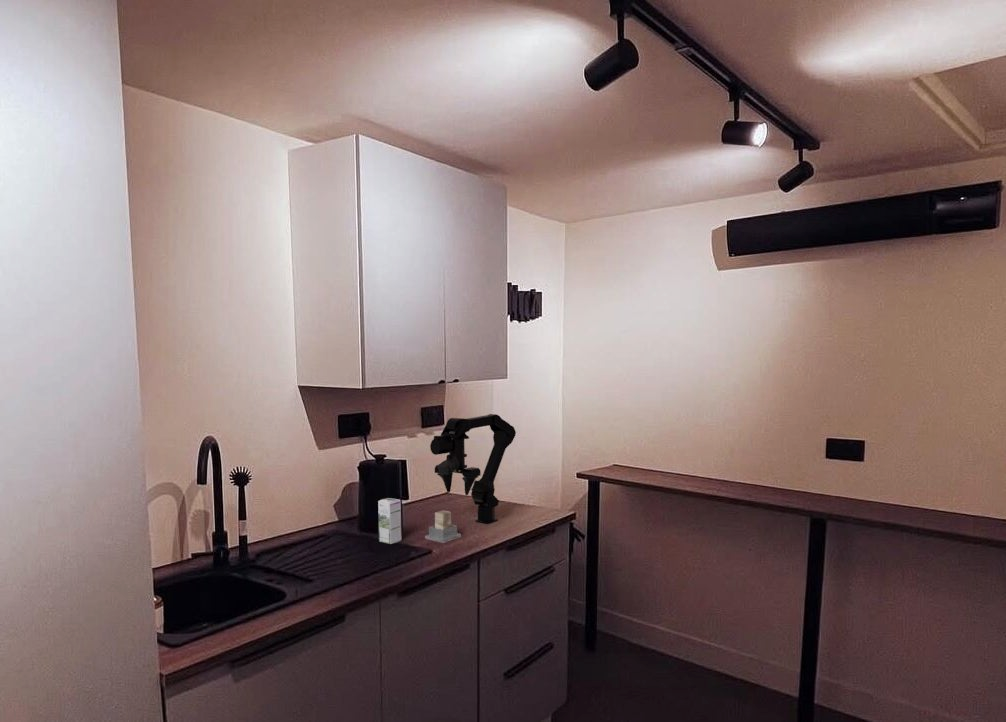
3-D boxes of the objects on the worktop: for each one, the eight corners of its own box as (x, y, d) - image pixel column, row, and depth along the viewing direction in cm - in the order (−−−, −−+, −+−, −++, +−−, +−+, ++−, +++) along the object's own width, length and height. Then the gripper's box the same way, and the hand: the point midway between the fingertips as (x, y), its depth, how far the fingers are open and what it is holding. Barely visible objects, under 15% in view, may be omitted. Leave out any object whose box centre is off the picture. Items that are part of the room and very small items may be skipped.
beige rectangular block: (443, 532, 218) (442, 510, 218) (451, 534, 215) (450, 511, 215) (435, 535, 215) (434, 512, 215) (443, 537, 212) (442, 514, 212)
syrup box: (402, 540, 212) (401, 499, 212) (389, 544, 208) (389, 502, 208) (390, 538, 216) (389, 497, 216) (378, 542, 211) (377, 500, 211)
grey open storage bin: (443, 532, 221) (442, 521, 221) (461, 536, 216) (460, 525, 216) (425, 538, 214) (424, 527, 214) (443, 542, 209) (443, 531, 209)
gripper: (423, 452, 227) (424, 494, 226) (460, 456, 215) (461, 500, 215) (444, 448, 235) (445, 489, 235) (481, 452, 223) (481, 495, 223)
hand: (457, 493), depth 227 cm, fingers open, 9 cm apart
